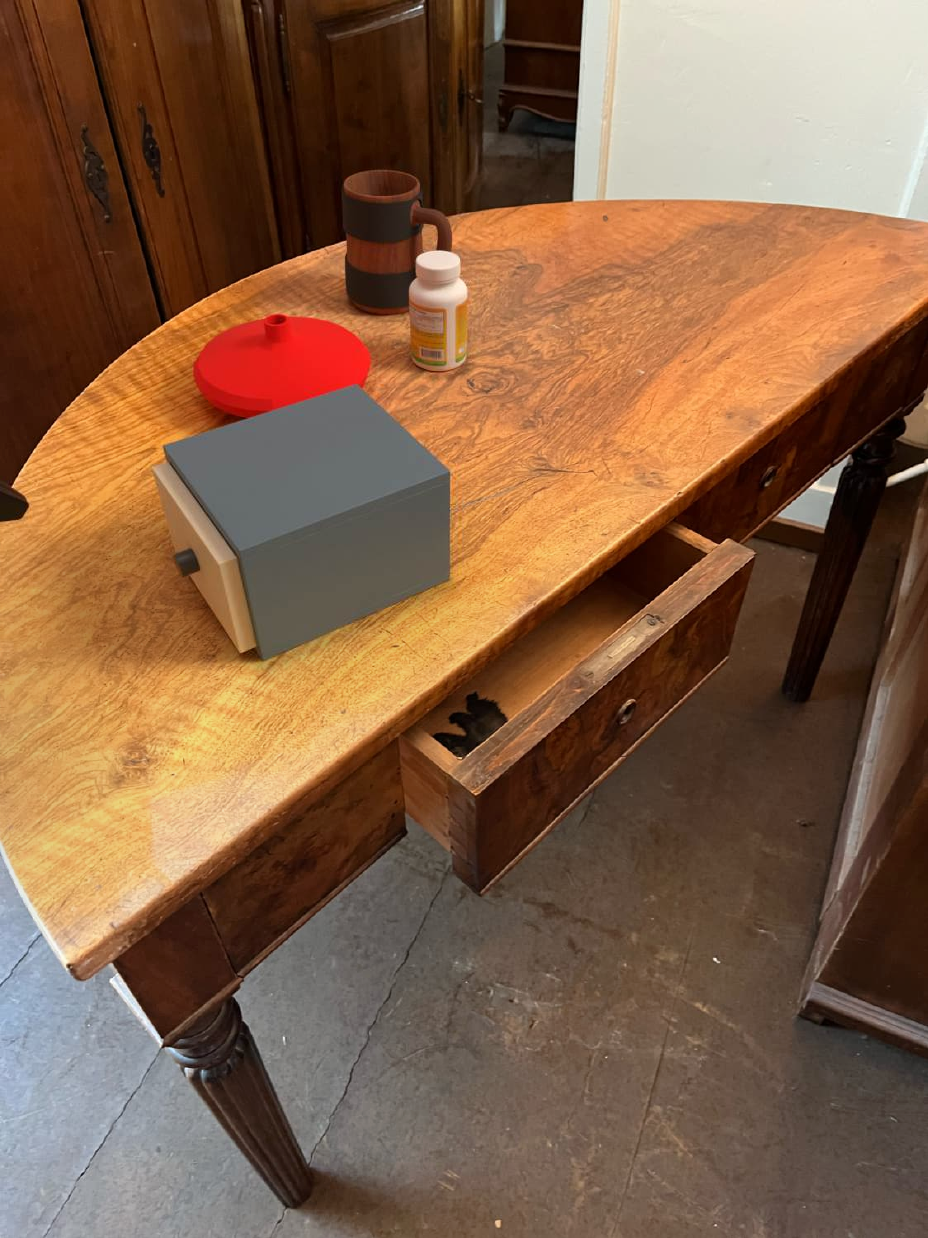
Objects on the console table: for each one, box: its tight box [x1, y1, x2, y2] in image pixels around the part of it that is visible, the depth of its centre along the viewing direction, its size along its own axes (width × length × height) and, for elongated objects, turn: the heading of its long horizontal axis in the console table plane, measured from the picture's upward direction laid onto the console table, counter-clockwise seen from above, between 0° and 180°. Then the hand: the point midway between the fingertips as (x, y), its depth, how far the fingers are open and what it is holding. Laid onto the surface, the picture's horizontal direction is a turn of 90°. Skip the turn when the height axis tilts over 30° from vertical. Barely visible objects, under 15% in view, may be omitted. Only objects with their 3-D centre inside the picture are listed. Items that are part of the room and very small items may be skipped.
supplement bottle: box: [409, 250, 469, 372], centre depth 83 cm, size 5×5×10 cm
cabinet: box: [162, 384, 451, 662], centre depth 61 cm, size 15×13×10 cm
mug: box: [341, 169, 453, 315], centre depth 90 cm, size 9×12×12 cm
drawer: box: [151, 461, 257, 654], centre depth 60 cm, size 15×11×8 cm
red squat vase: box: [192, 313, 372, 419], centre depth 79 cm, size 16×16×7 cm
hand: (24, 508), depth 48 cm, fingers closed
